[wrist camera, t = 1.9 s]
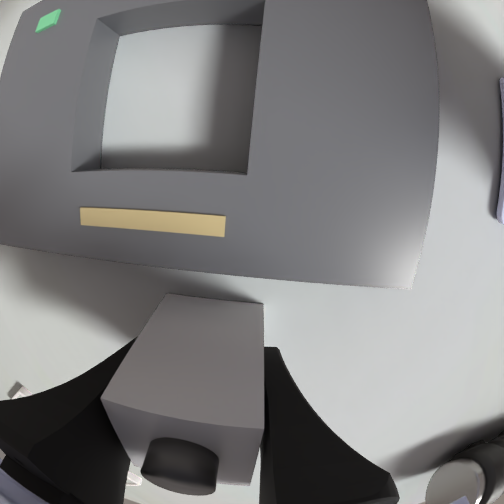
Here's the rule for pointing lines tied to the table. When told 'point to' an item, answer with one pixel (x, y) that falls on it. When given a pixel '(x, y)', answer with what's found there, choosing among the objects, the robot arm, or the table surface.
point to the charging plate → (261, 144)
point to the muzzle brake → (470, 475)
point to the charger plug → (193, 394)
